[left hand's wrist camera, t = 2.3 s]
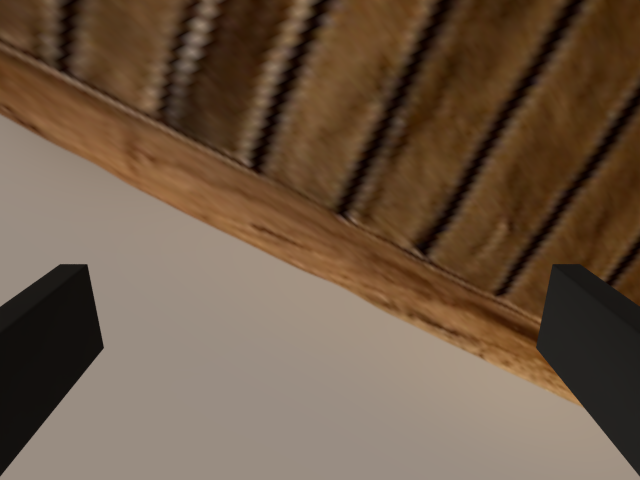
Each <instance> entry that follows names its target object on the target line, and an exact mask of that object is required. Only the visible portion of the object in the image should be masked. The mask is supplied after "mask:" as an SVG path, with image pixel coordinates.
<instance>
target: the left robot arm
mask: <svg viewBox="0 0 640 480" xmlns="http://www.w3.org/2000/svg"><path fill="white" fill-rule="evenodd" d="M103 348H104V346H103V341H102V336H101V331H100V326H99V321H98V316H97V311H96V306H95V301H94V296H93V291H92V286H91V281H90V275H89V270H88V265H87V264H60V265H59V266H57V267H56V268H54V269H53V270H51V271H50V272H49V273H47V274H46V275H44V276H43V277H42V278H40V279H39V280H37V281H36V282H35V283H33V284H32V285H30V286H29V287H27V288H26V289H25V290H23V291H22V292H20V293H19V294H18V295H16V296H15V297H13V298H12V299H11V300H9V301H8V302H6V303H5V304H4V305H2V306H1V307H0V476H1V475H2V473H3V472H4V471H5V470H6V468H7V467H8V466H9V465H10V464H11V462H12V461H13V460H14V459H15V457H16V456H17V455H18V454H19V452H20V451H21V450H22V449H23V447H24V446H25V445H26V444H27V443H28V441H29V440H30V439H31V437H32V436H33V435H34V434H35V433H36V431H37V430H38V429H39V428H40V426H41V425H42V424H43V423H44V421H45V420H46V419H47V418H48V416H49V415H50V414H51V413H52V411H53V410H54V409H55V408H56V407H57V405H58V404H59V403H60V402H61V400H62V399H63V398H64V397H65V395H66V394H67V393H68V392H69V390H70V389H71V388H72V387H73V385H74V384H75V383H76V382H77V381H78V379H79V378H80V377H81V376H82V374H83V373H84V372H85V371H86V369H87V368H88V367H89V366H90V364H91V363H92V362H93V361H94V359H95V358H96V357H97V356H98V354H99V353H100V352H101V351H102V350H103ZM536 348H537V350H538V351H539V352H540V353H541V355H542V356H543V357H544V358H545V359H546V361H547V362H548V363H549V364H550V366H551V367H552V368H553V369H554V371H555V372H556V373H557V374H558V376H559V377H560V378H561V379H562V381H563V382H564V383H565V384H566V386H567V387H568V388H569V389H570V390H571V392H572V393H573V394H574V395H575V397H576V398H577V399H578V400H579V402H580V403H581V404H582V405H583V407H584V408H585V409H586V410H587V412H588V413H589V414H590V415H591V416H592V418H593V419H594V420H595V421H596V423H597V424H598V425H599V426H600V428H601V429H602V430H603V431H604V433H605V434H606V435H607V436H608V438H609V439H610V440H611V441H612V443H613V444H614V445H615V446H616V447H617V449H618V450H619V451H620V452H621V454H622V455H623V456H624V457H625V459H626V460H627V461H628V462H629V464H630V465H631V466H632V467H633V469H634V470H635V471H636V472H637V473H638V475H639V476H640V307H639V306H638V305H637V304H635V303H634V302H632V301H631V300H629V299H628V298H627V297H625V296H624V295H622V294H621V293H620V292H618V291H617V290H615V289H614V288H613V287H611V286H610V285H608V284H607V283H605V282H604V281H603V280H601V279H600V278H598V277H597V276H596V275H594V274H593V273H591V272H590V271H589V270H587V269H586V268H584V267H583V266H582V265H580V264H553V265H552V270H551V275H550V280H549V286H548V291H547V296H546V301H545V306H544V311H543V316H542V321H541V326H540V331H539V336H538V341H537V346H536Z"/></svg>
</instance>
